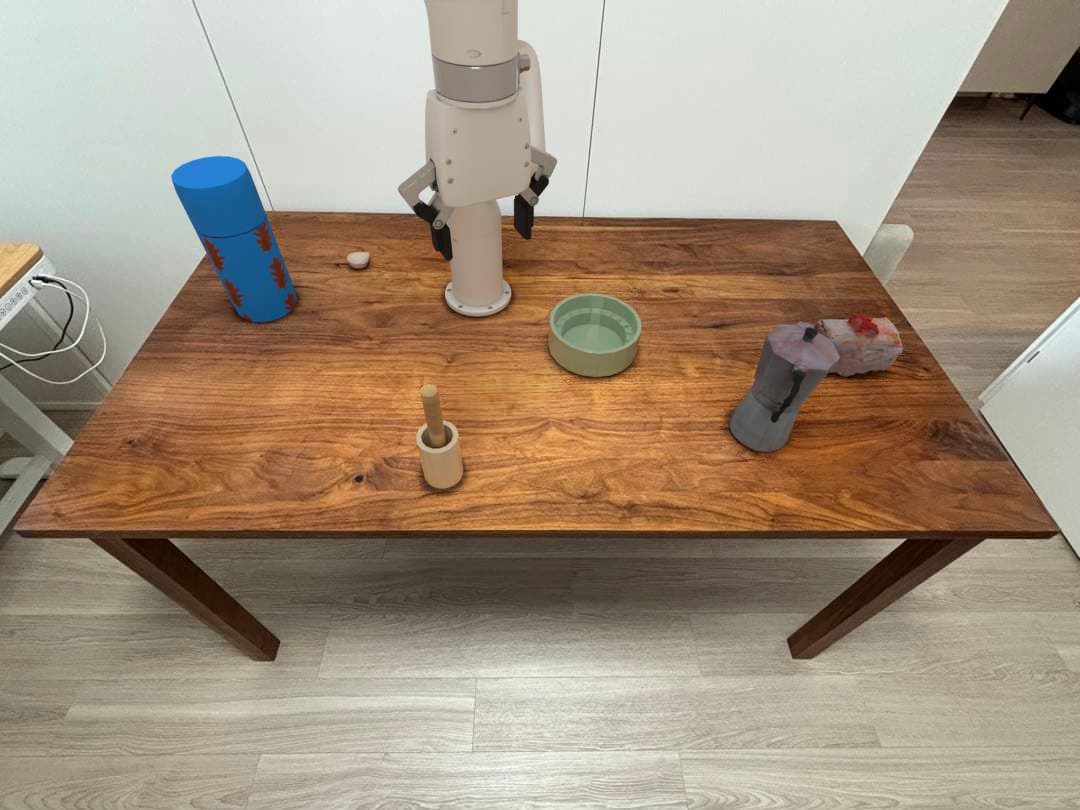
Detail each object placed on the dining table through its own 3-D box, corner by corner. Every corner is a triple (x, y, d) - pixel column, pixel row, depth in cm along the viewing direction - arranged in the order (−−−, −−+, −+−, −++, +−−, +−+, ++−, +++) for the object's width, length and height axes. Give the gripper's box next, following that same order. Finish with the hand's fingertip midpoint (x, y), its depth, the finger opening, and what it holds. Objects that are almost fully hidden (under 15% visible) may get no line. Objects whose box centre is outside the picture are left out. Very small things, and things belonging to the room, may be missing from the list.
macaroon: (344, 266, 108) (341, 255, 106) (362, 254, 111) (359, 243, 109) (360, 273, 107) (357, 262, 105) (377, 261, 109) (375, 250, 107)
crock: (419, 467, 77) (409, 428, 70) (454, 453, 79) (449, 414, 72) (432, 496, 74) (424, 459, 67) (469, 481, 76) (465, 443, 69)
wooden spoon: (433, 469, 76) (416, 385, 63) (447, 463, 77) (432, 379, 64) (441, 484, 75) (424, 401, 61) (454, 478, 75) (441, 395, 62)
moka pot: (791, 406, 87) (849, 309, 72) (787, 481, 77) (854, 387, 62) (732, 390, 89) (776, 292, 74) (721, 462, 79) (770, 367, 64)
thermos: (223, 313, 97) (152, 179, 78) (263, 280, 104) (208, 150, 85) (271, 329, 95) (211, 195, 76) (310, 295, 102) (263, 164, 83)
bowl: (533, 334, 96) (533, 308, 92) (604, 310, 102) (608, 284, 97) (576, 390, 88) (580, 364, 83) (652, 361, 93) (659, 335, 88)
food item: (864, 346, 97) (893, 303, 90) (887, 378, 92) (920, 335, 85) (793, 350, 96) (816, 306, 88) (812, 382, 91) (839, 339, 83)
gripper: (540, 51, 53) (536, 211, 66) (369, 75, 47) (400, 245, 60) (580, 76, 49) (566, 242, 62) (396, 105, 43) (424, 281, 56)
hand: (484, 243), depth 61 cm, fingers open, 9 cm apart
